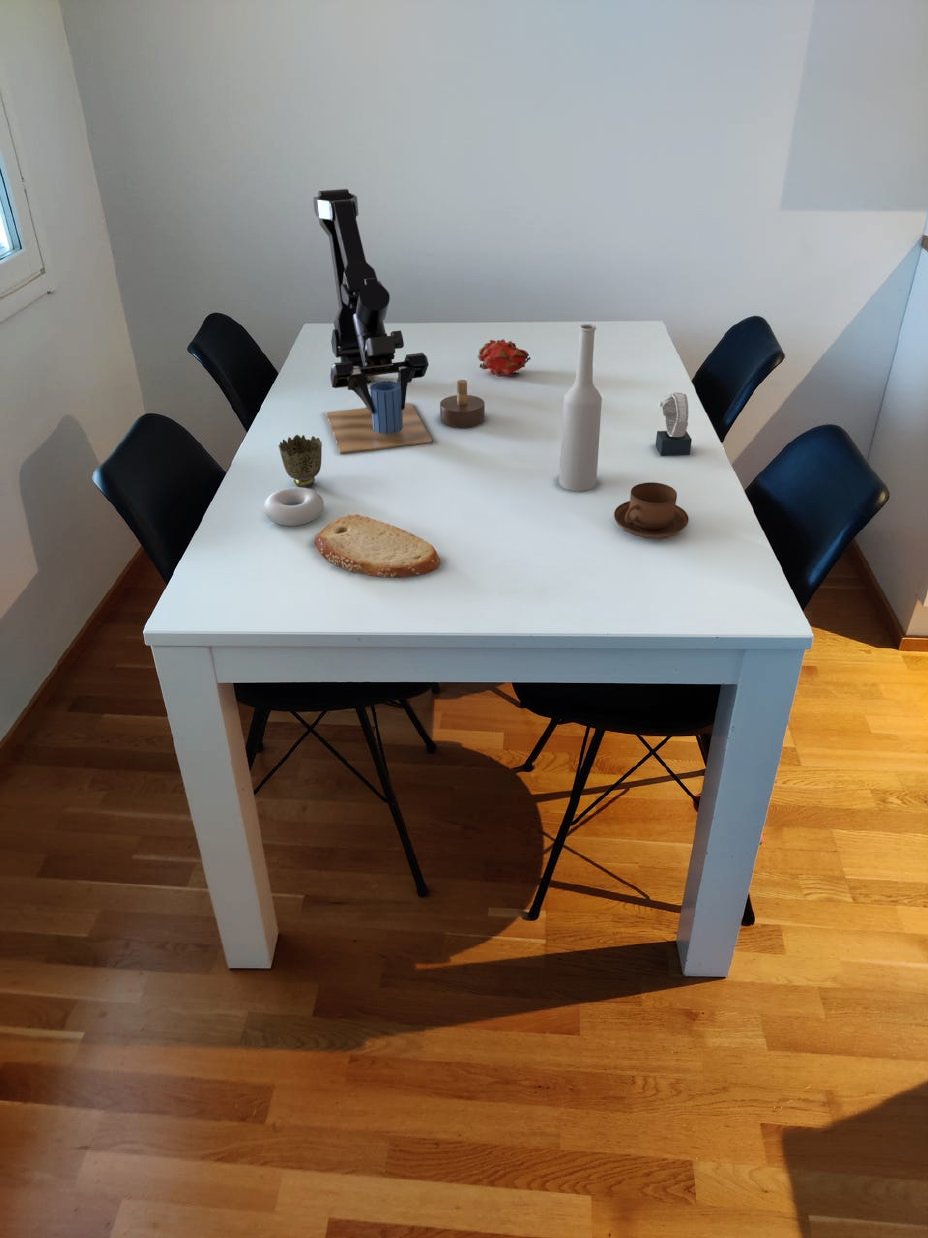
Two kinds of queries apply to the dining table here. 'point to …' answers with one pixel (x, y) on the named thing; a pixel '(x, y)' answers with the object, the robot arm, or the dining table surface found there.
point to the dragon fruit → (502, 357)
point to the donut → (293, 506)
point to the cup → (302, 459)
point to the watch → (674, 426)
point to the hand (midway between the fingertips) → (388, 410)
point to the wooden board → (359, 434)
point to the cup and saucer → (651, 511)
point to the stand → (462, 409)
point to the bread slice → (375, 548)
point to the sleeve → (387, 407)
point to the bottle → (581, 422)
